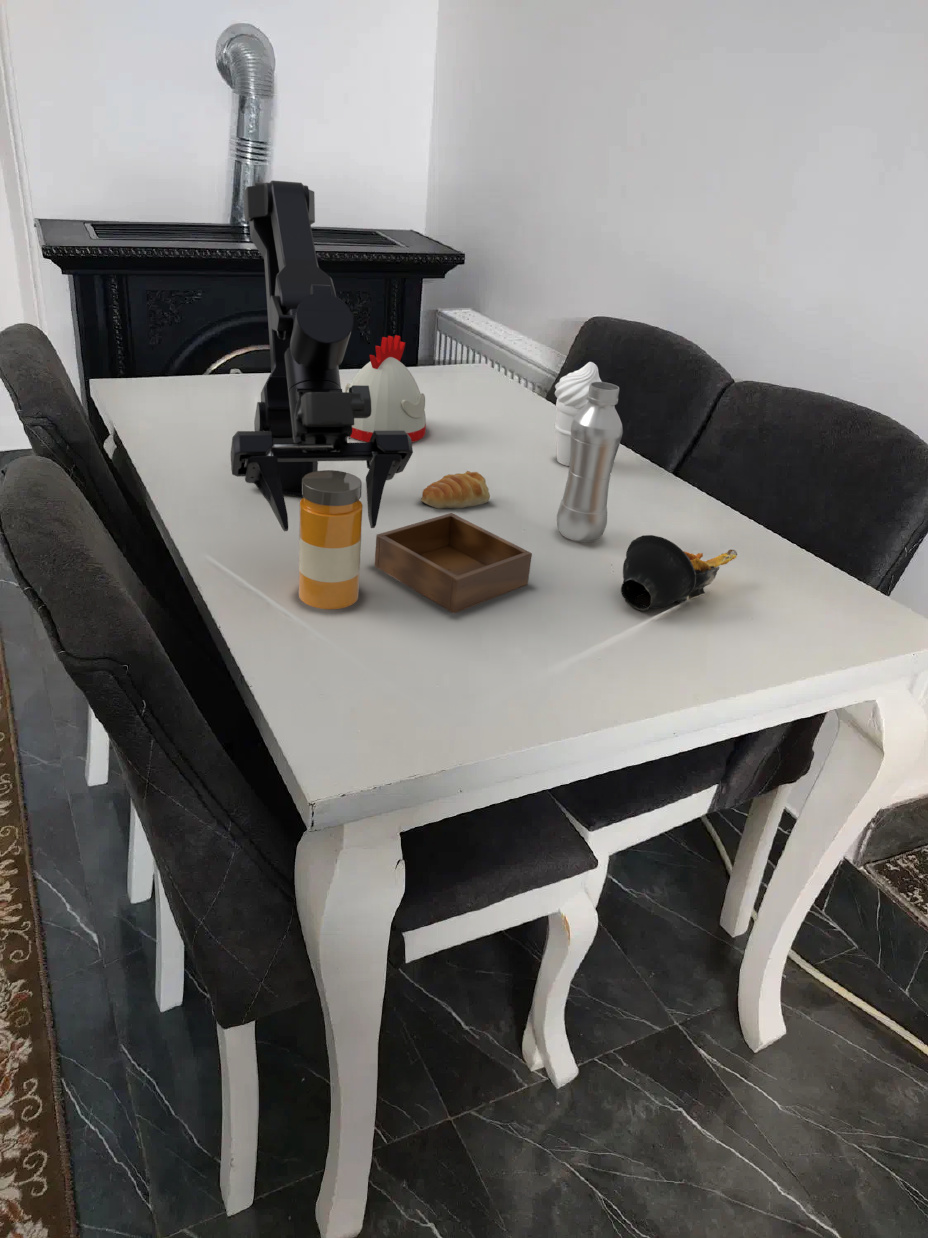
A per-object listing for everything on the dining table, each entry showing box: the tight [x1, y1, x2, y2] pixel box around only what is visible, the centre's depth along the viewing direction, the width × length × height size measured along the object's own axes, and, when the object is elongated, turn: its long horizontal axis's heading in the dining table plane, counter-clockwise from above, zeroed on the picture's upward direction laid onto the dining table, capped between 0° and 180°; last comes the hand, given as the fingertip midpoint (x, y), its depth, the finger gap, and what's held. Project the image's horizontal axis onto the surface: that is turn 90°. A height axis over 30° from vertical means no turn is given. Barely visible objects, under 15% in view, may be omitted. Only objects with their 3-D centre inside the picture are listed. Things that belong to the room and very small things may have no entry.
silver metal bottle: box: [556, 381, 624, 543], centre depth 116 cm, size 6×7×20 cm
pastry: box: [420, 470, 491, 509], centre depth 126 cm, size 9×7×4 cm
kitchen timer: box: [344, 334, 427, 443], centre depth 147 cm, size 14×14×15 cm
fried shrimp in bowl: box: [620, 534, 738, 612], centre depth 107 cm, size 9×11×18 cm
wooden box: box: [374, 512, 533, 614], centre depth 106 cm, size 13×12×4 cm
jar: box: [298, 469, 364, 610], centre depth 97 cm, size 6×6×14 cm
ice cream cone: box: [554, 361, 603, 467], centre depth 142 cm, size 8×8×16 cm
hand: (330, 528), depth 96 cm, fingers open, 9 cm apart
